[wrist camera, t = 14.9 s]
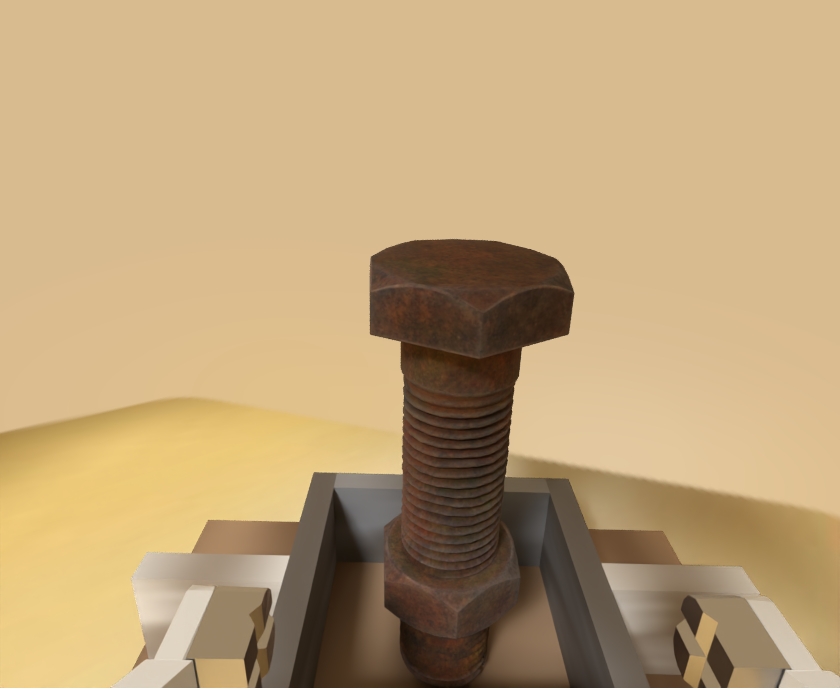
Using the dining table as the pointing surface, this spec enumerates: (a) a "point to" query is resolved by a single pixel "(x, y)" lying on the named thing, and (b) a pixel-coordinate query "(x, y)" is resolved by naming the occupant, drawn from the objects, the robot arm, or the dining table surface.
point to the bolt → (457, 435)
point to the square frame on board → (380, 629)
